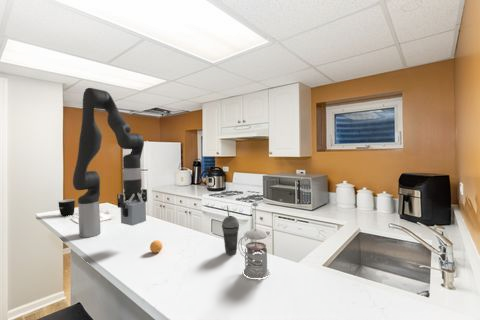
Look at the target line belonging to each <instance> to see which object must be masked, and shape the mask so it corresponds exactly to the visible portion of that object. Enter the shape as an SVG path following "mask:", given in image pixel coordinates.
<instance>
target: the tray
mask: <svg viewBox="0 0 480 320" xmlns="http://www.w3.org/2000/svg"><path fill="white" fill-rule="evenodd" d="M74 216H75V217H76V218H75V217H74V218H71V221H74V222H75V223H77V224H78V225H79V214H77V215H74ZM111 216H113V217H114V215H113V214H110V212H109V211H108V210H105V211H104V212H100V218H102V219H100V222H103V221H108V220H112V217H111Z"/></svg>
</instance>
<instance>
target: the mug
mask: <svg viewBox="0 0 480 320" xmlns="http://www.w3.org/2000/svg"><path fill="white" fill-rule="evenodd" d="M75 201H76V200H75V199H71V198H69V199H63V200H59V201H58V210H59V214H60V216H61V217H69V216H68V215H71V216H73V215H74V213H75V209H76V205H75V203H76V202H75ZM72 214H73V215H72Z"/></svg>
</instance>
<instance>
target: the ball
mask: <svg viewBox="0 0 480 320" xmlns="http://www.w3.org/2000/svg"><path fill="white" fill-rule="evenodd" d="M162 249H163V243H162V241H161V240H154V241H152V242H151V243H150V245H149V250H150V251H151V252H152V253H154V254H155V253H156V254H158V253H159V252H161V251H162Z"/></svg>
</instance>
